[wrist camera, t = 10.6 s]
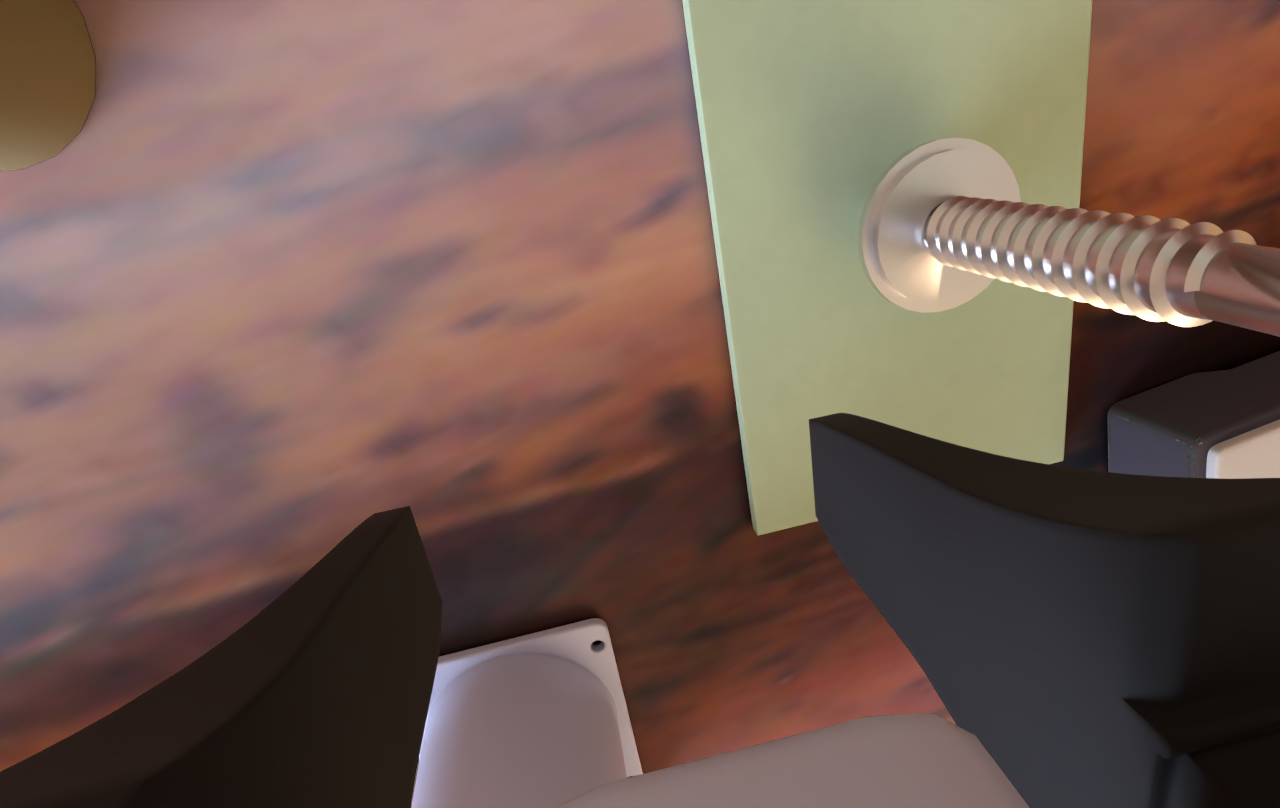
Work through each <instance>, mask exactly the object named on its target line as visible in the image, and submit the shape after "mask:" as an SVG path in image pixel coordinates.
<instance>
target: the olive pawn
mask: <svg viewBox="0 0 1280 808" xmlns="http://www.w3.org/2000/svg"><path fill="white" fill-rule="evenodd" d="M94 98H95V56H94V52H93V49H92V45H91V42H90V39H89V35H88V32H87V29H86V25H85V22H84V18H83V15H82V14H81V12H80V11H79V9H78V7H77V6H76V4H75V2H74V1H73V0H0V170H18V169H24V168H26V167H29V166H31V165H34V164H36V163H39V162H41V161H44V160H46V159H49V158H51V157H54V156H56V155H57V154H58V153H59V152H60V151H61V150H62V149H63V148H64V147H65V146H66V145H67V144H68V143H69V142H70V141H71V140H72V139H73V138H74V137H75V136H77V135H78V134H79V133H80V132H81V130H82V127H83V125H84V122H85V120H86V118H87V115H88V113H89V110H90V108H91V105H92V103H93V101H94Z"/></svg>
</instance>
